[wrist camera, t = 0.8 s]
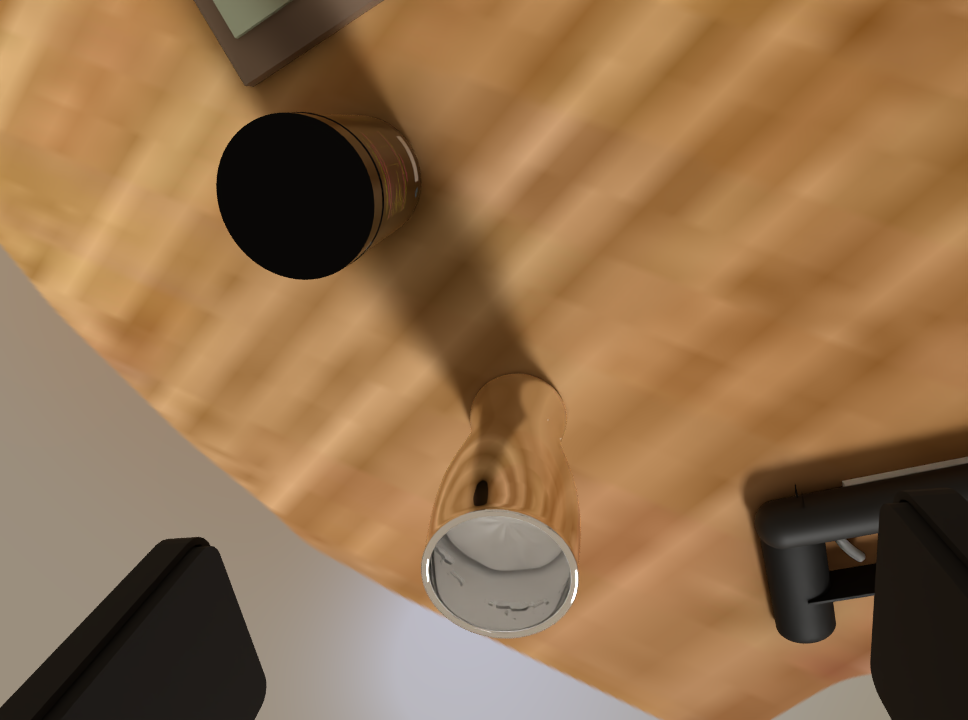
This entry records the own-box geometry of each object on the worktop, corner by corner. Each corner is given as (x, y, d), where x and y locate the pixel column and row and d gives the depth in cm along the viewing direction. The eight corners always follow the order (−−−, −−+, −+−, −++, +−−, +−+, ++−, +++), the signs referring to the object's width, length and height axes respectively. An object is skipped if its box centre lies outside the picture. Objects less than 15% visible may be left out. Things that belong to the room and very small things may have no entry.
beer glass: (526, 483, 41) (513, 668, 28) (442, 422, 40) (383, 582, 27) (597, 410, 39) (620, 573, 25) (509, 344, 38) (482, 474, 24)
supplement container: (284, 151, 35) (183, 164, 26) (384, 89, 34) (316, 77, 24) (348, 257, 37) (276, 306, 28) (446, 203, 36) (405, 235, 26)
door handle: (1127, 652, 39) (1150, 437, 33) (790, 696, 43) (757, 511, 37) (1085, 611, 42) (1099, 406, 36) (774, 655, 46) (741, 478, 40)
